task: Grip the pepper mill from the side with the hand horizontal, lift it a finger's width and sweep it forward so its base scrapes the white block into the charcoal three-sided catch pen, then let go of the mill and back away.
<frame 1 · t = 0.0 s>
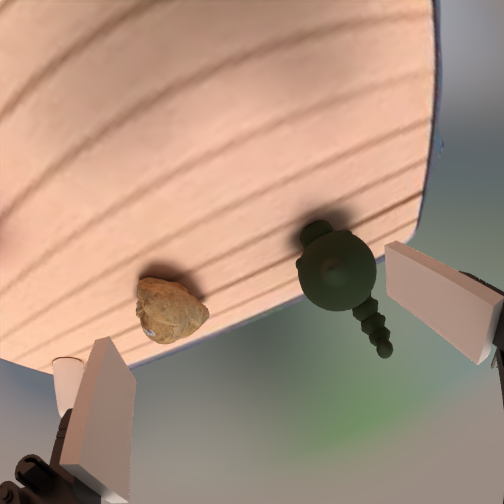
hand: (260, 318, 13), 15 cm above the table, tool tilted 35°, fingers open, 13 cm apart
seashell: (172, 286, 38), on the table
can: (67, 361, 46), on the table
toy figurine: (325, 244, 42), on the table
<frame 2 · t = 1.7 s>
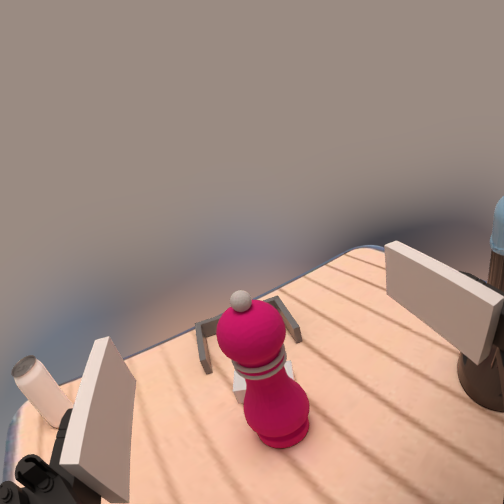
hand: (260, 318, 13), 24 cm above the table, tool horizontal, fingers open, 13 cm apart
catch pen: (247, 339, 49), on the table
white block: (267, 389, 38), on the table
can: (63, 416, 38), on the table
pepper mill: (283, 428, 31), on the table
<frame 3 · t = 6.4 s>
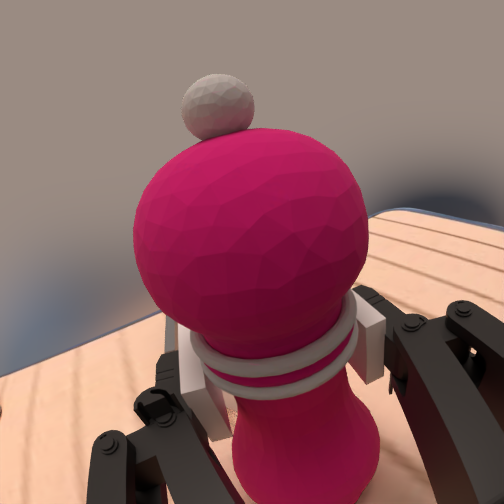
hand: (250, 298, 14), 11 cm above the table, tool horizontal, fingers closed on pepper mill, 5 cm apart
catch pen: (244, 321, 32), on the table
pepper mill: (314, 482, 14), on the table, touching gripper
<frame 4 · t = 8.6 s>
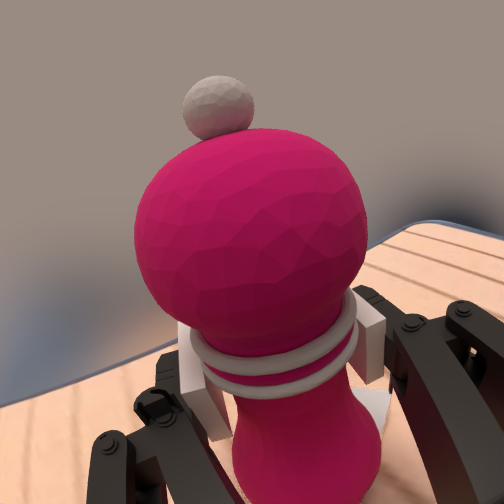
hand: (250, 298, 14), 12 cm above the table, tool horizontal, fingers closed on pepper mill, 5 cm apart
white block: (329, 429, 18), on the table
pepper mill: (315, 487, 13), point 1 cm above the table, touching gripper
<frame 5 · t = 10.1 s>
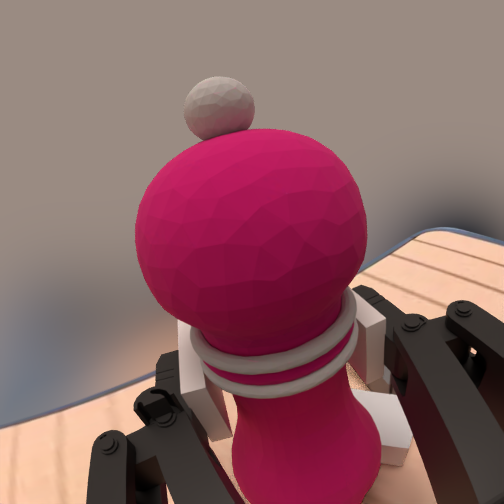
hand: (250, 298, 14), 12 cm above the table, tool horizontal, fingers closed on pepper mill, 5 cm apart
catch pen: (276, 401, 22), on the table
white block: (356, 435, 17), on the table
pepper mill: (315, 488, 13), point 1 cm above the table, touching gripper
when the fingers open (12 cm above the table, at t = 10.9 s): pepper mill stays where it is, on the table.
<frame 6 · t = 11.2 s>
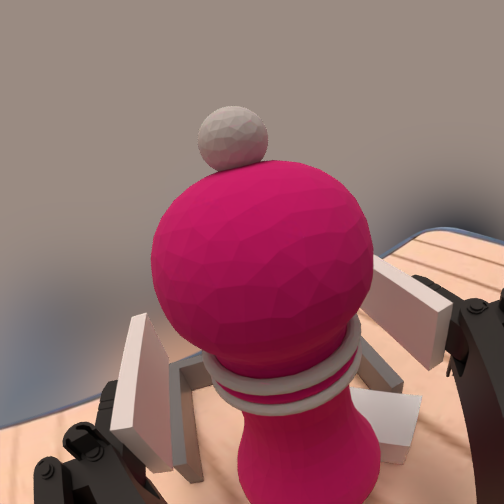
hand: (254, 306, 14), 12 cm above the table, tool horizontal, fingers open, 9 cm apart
catch pen: (277, 402, 22), on the table
white block: (357, 434, 17), on the table
pepper mill: (316, 493, 13), on the table
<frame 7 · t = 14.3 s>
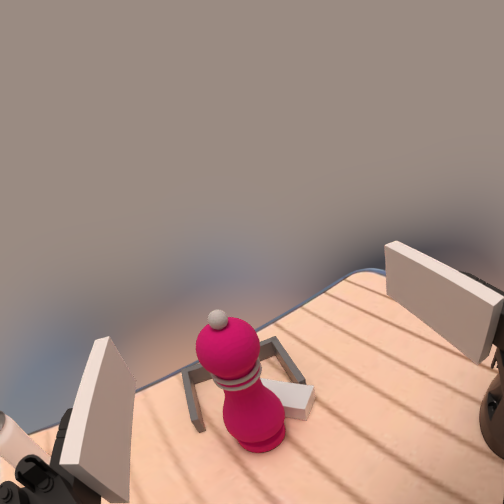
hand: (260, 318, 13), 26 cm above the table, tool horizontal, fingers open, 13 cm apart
catch pen: (242, 388, 41), on the table
white block: (283, 405, 37), on the table
can: (44, 471, 27), on the table
pepper mill: (261, 434, 33), on the table
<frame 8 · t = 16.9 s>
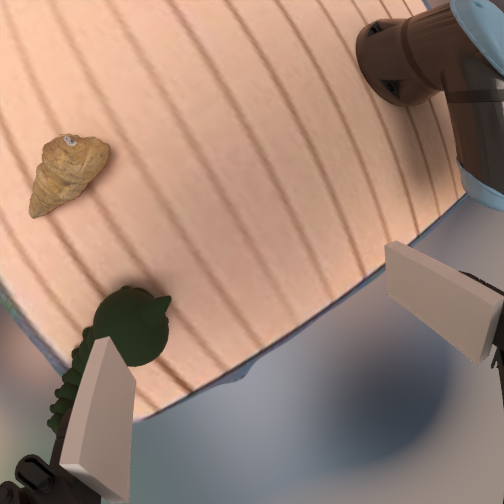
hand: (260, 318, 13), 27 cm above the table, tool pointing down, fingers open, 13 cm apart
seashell: (70, 175, 32), on the table
toy figurine: (116, 325, 39), on the table
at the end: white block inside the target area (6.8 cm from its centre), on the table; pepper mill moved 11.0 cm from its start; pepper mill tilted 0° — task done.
